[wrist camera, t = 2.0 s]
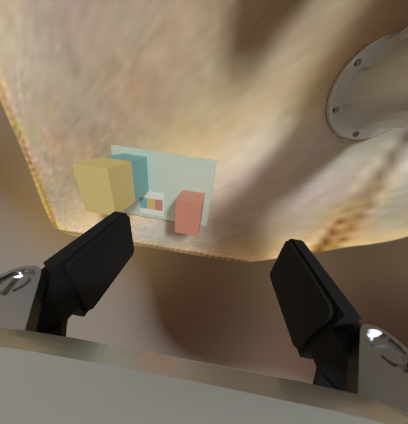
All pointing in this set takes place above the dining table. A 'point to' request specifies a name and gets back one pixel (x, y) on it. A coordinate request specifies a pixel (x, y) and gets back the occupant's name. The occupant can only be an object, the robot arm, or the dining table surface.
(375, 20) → the dining table surface
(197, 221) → the brick
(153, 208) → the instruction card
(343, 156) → the dining table surface
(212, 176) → the mat
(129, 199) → the tower base
